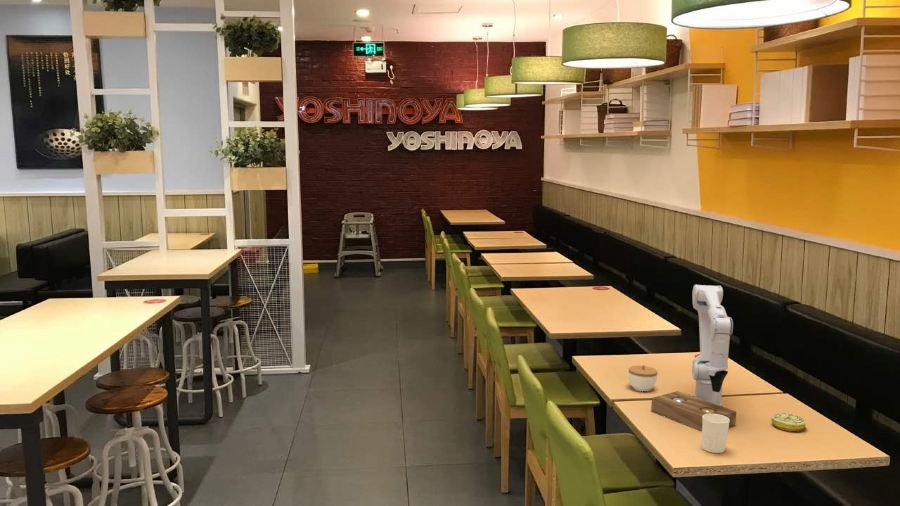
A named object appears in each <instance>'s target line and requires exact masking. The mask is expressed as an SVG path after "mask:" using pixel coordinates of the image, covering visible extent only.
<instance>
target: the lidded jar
mask: <svg viewBox="0 0 900 506" xmlns="http://www.w3.org/2000/svg"><path fill="white" fill-rule="evenodd" d="M658 374H659V373H658V370H657V369H656V368H654V367H651V366H646V365H645V364H642V365H633V366H629V368H628V380H629V384H630V385H631V388H632V387H633V390H634V391H637V392H641V391H642V392H643V391H647V392H650V391H649V390H652V389H653V388H654V386H655V385H656V383H657V379H658ZM643 393H644V392H643Z"/></svg>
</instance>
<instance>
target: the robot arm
mask: <svg viewBox="0 0 900 506" xmlns="http://www.w3.org/2000/svg"><path fill="white" fill-rule="evenodd" d="M691 293H692V307H693V309H695V311H697V313H698V327H699V330H698V331H699V353H700V354H699V355H697V356H695V358H693V361H692V367H691V376H692V379H693V380H694V381H695V389H694V397H696V398H699V399H702V400H705V401H708V402H711V403H713V404H716V405H719V406H722V407H724V404H723V403H722V398H723V397H722V396H723V395H722V394H723V383H724V380H725V379H726V376H727V375H728V372H729V371H728V367H729V366H728V365H729V363H728V362H729V350H730V349H729V348H730V339H731V336H732V334H733V330H734V322H733V321H734V320H733V319H732V317H730V316H728V314H727V312H726V309H725V307H724V306H723V305H721V303H722V301H723V296H724V290H723V287H722V286H721V285H705V284H703V285H702V284H694V285H693V288H692V292H691Z"/></svg>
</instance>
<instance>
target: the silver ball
mask: <svg viewBox="0 0 900 506" xmlns="http://www.w3.org/2000/svg"><path fill="white" fill-rule="evenodd" d="M673 400H675V401H678V402H684V401H685V400H684V399H683V398H673Z"/></svg>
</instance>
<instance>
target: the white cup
mask: <svg viewBox="0 0 900 506" xmlns="http://www.w3.org/2000/svg"><path fill="white" fill-rule="evenodd" d="M729 421H730V420H729V418H727V417H725V416H723V415H719V414H705V415H703V416H702V431H701V441H702V443H701V448H702V449H703V450H705V451H706V452H709V453H712V454H722V453H724V452H725V451H726V446H727V445H726V444H727V440H728V435H729V429H730V428H729Z"/></svg>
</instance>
